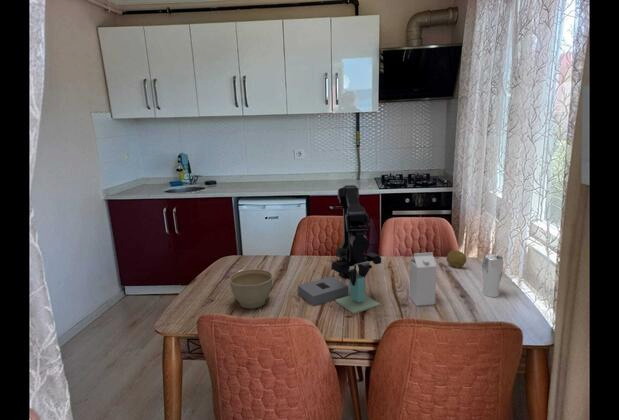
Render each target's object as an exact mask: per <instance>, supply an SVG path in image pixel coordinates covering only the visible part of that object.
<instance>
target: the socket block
mask: <svg viewBox="0 0 619 420" xmlns="http://www.w3.org/2000/svg"><path fill="white" fill-rule="evenodd" d="M297 292H298V293H297V295H298V296H300V297H301V298H302V299H303V300H304V301H306V302H308V303H309V305H311V306H312V307H315V306H320V305H323V304H327V303H330V302H332V301H335V300H336V299H339V298H343V297H346V296H349V295H350V287H349V285H347V284H346V283H344V282H342V281H340V279H337V278H335V277H333V276H332V275H331V276H328V277H325V278H321V279H317V280H313V281H309V282H305V283H302V284H298V285H297Z"/></svg>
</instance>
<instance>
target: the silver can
mask: <svg viewBox="0 0 619 420" xmlns="http://www.w3.org/2000/svg"><path fill="white" fill-rule="evenodd" d="M482 259H483V260H482V268H481V269H482V278H483V279H482V280H483V287H482V289H481V293H483V294H484V295H483V294H482V295H483V296H485V297H488V296H489V297H488V298H498V297H499V296H500V283H501V279H502V276H503V270H504V257H503V256H502V255H500V254H494V253H493V254H492V253H487V254H484V255H483V258H482Z"/></svg>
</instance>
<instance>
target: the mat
mask: <svg viewBox="0 0 619 420" xmlns="http://www.w3.org/2000/svg"><path fill="white" fill-rule="evenodd" d="M334 301H335V303H337V304H339V305H340V306H341V307H342V308H345V309H346V310H347V311H349V312H350V313H351V314H352V315H353V314H354V315H355V314H359V313H361V312H364V311H367V310H370V309H374V308H376V307H379V306H381V303H380V302H378V301H376V300H374V299H373V298H371V297H369V296H367V295H366V294H365V300H364V301H361V302H357V301H355V300H354V299H352V298H351V297H350V294H349V296H346V297H343V298H339V299H336V300H334Z"/></svg>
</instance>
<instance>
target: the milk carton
mask: <svg viewBox="0 0 619 420" xmlns="http://www.w3.org/2000/svg"><path fill="white" fill-rule="evenodd" d="M409 265H410V266H409V269H410V270H409V299H410V300H411V301H412V302H413V303H414V304H415V306H417V307H421V306H431V305H432V306H433V305H436V292H437V289H436V288H437V287H436V285H437V263H436V260H435V258H434V252H432V251H431V252H417V253H413V257H412V258H411V259H410V264H409Z"/></svg>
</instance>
